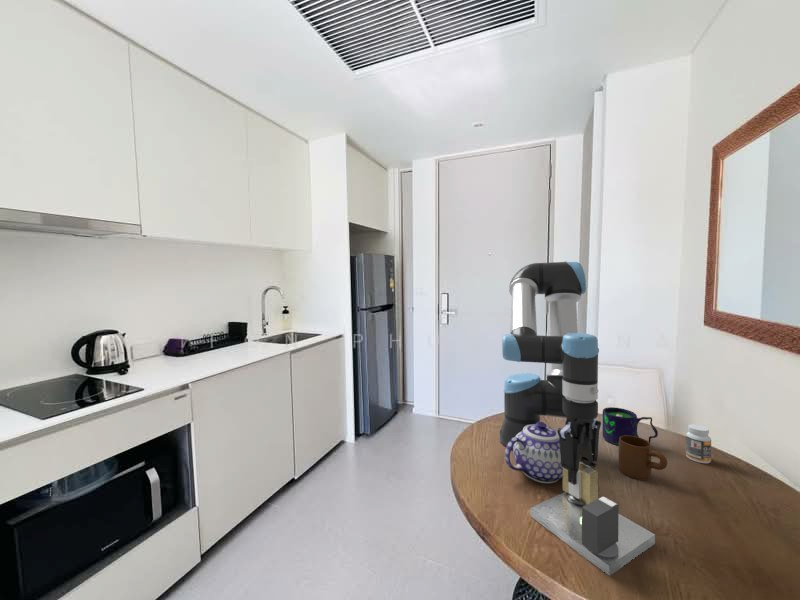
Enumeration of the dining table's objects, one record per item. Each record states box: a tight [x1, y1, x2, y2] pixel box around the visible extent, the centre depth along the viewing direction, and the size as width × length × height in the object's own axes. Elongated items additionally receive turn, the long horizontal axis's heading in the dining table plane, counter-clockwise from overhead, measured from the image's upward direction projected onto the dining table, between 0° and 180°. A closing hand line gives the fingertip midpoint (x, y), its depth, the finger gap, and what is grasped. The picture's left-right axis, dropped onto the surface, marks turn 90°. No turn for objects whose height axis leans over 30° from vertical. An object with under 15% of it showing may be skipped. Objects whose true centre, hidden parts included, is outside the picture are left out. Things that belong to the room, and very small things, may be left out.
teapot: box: [504, 421, 563, 484], centre depth 93 cm, size 25×15×15 cm, turn 109°
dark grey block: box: [582, 495, 620, 558], centre depth 64 cm, size 7×6×8 cm
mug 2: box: [618, 435, 668, 481], centre depth 90 cm, size 12×8×9 cm, turn 21°
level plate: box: [529, 491, 656, 577], centre depth 72 cm, size 18×16×3 cm
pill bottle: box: [685, 424, 712, 464], centre depth 99 cm, size 6×6×10 cm
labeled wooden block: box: [562, 461, 599, 506], centre depth 79 cm, size 7×6×8 cm
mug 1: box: [602, 406, 659, 446], centre depth 110 cm, size 15×10×10 cm, turn 49°
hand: (579, 492), depth 79 cm, fingers closed on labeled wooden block, 3 cm apart
